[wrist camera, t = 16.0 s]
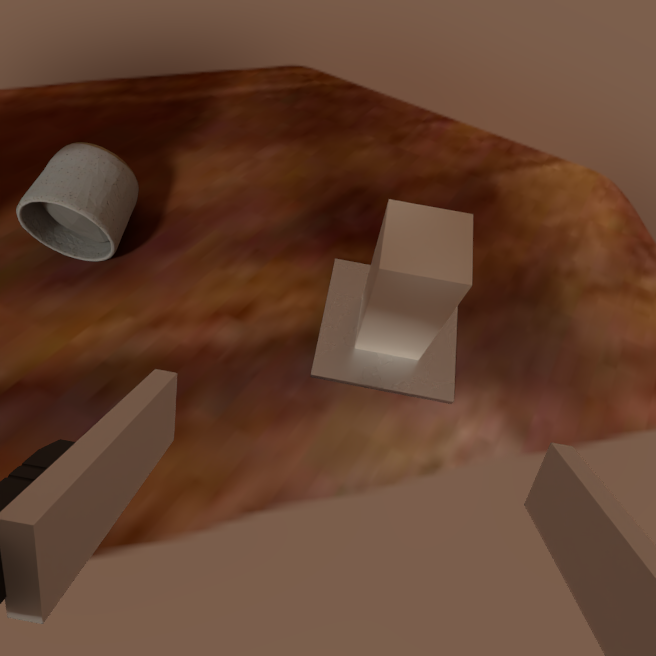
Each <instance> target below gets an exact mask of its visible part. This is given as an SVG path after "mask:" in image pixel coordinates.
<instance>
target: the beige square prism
mask: <svg viewBox="0 0 656 656" xmlns="http://www.w3.org/2000/svg"><path fill="white" fill-rule="evenodd" d="M472 269H473V214H469V213H463V212H458V211H452V210H447V209H441V208H435V207H430V206H424V205H419V204H413V203H407V202H402V201H396V200H390V199H389V201H388V204H387V208H386V212H385V215H384V219H383V222H382V226H381V230H380V233H379V237H378V241H377V244H376V248H375V252H374V255H373V259H372V263H371V266H370V270H369V273H368V277H367V281H366V284H365V288H364V292H363V297H362V303H361V309H360V316H359V322H358V328H357V335H356V341H355V347H354V348H355V349H361V350H366V351H371V352H377V353H382V354H388V355H393V356H398V357H404V358H409V359H415V360H419V359H420V358H421V356H422V355H423V353H424V352H425V351H426V349H427V348H428V346H429V345H430V344H431V342H432V341H433V339H434V338H435V337H436V335H437V334H438V332H439V331H440V330H441V328H442V327H443V326H444V324H445V323H446V321H447V320H448V319H449V317H450V316H451V314H452V313H453V312H454V310H455V309H456V307H457V306H458V305H459V303H460V302H461V300H462V299H463V298H464V296H465V295H466V294H467V292H468V291H469V289H470V288H471V287H472Z"/></svg>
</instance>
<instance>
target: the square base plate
mask: <svg viewBox="0 0 656 656" xmlns="http://www.w3.org/2000/svg"><path fill="white" fill-rule="evenodd" d="M370 266H371V265H368V264H362V263H357V262H351V261H346V260H341V259H335V262H334V267H333V272H332V276H331V281H330V286H329V291H328V295H327V300H326V305H325V310H324V314H323V319H322V324H321V329H320V333H319V338H318V343H317V348H316V352H315V357H314V362H313V367H312V371H311V377H314V378H319V379H324V380H329V381H335V382H340V383H345V384H350V385H355V386H360V387H366V388H371V389H376V390H381V391H386V392H391V393H397V394H402V395H407V396H412V397H417V398H422V399H428V400H433V401H438V402H443V403H448V404H452V403H453V402H454V389H455V364H456V338H457V313H458V306H457V307H456V309H455V310H454V312H453V313H452V314H451V316H450V317H449V319H448V320H447V321H446V323H445V324H444V326H443V327H442V328H441V330H440V331H439V332H438V334H437V335H436V337H435V338H434V339H433V341H432V342H431V344H430V345H429V346H428V348H427V349H426V351H425V352H424V353H423V355H422V356H421V358H420V359H419V360H415V359H409V358H404V357H398V356H393V355H388V354H382V353H377V352H371V351H366V350H361V349H355V348H354V347H355V341H356V335H357V328H358V322H359V316H360V309H361V303H362V297H363V292H364V288H365V284H366V281H367V277H368V273H369V270H370Z"/></svg>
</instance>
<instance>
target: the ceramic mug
mask: <svg viewBox="0 0 656 656" xmlns="http://www.w3.org/2000/svg"><path fill="white" fill-rule="evenodd" d="M138 191H139V186H138V181H137V179H136V177H135V175H134V173H133V171H132V170H131V169H130V167H129V166H128V165H127V164H126V163H125V162H124V161H123V160H122V159H121V158H119V157H118V156H117V155H115V154H114V153H112V152H110V151H109V150H107V149H105V148H103V147H101V146H98V145H95V144H91V143H84V142H77V143H71V144H69V145H66V146H65V147H64V148H62V149H61V150H60V151H58V152H57V153H56V154H55V155H54V156H53V158H52V159H51V160H50V161H49V163H48V164H47V166H46V168H45V169H44V171H43V172H42V173H41V174H40V176H39V177H38V178H37V179H36V181H35V182H34V183H33V185H32V186H31V187H30V188H29V190H28V191H27V192H26V194H25V195H24V196H23V197H22V199H21V200H20V202H19V204H18V206H17V209H16V212H17V217H18V220H19V222H20V224H21V226H22V227H23V228H24V229H25V230H26V231H28V232H29V233H30V234H31V235H32V236H33V237H34V238H36V239H37V240H38V241H39V242H41V243H43V244H44V245H46V246H48V247H50V248H51V249H53V250H55V251H57V252H60V253H62V254H64V255H67V256H69V257H73V258H76V259H81V260H86V261H104V260H107V259H109V258H111V257H112V256H113V255H114V253H115V252H116V250H117V248H118V245H119V242H120V240H121V238H122V235H123V233H124V230H125V228H126V226H127V223H128V221H129V218H130V216H131V214H132V212H133V209H134V207H135V205H136V202H137V198H138Z"/></svg>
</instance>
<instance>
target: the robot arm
mask: <svg viewBox="0 0 656 656" xmlns="http://www.w3.org/2000/svg"><path fill="white" fill-rule="evenodd" d="M176 387H177V373H174V372H168V371H163V370H158V369H155V370H154V371H153V372H152V373H151V374H150V375H148V376H147V377H146V378H145V379H144V380H143V381H142V382H141V383H140V384H139V385H138V386H136V387H135V388H134V389H133V390H132V391H131V392H130V393H129V394H128V395H127V396H126V397H125V398H123V399H122V400H121V401H120V402H119V403H118V404H117V405H116V406H115V407H114V408H113V409H112V410H110V411H109V412H108V413H107V414H106V415H105V416H104V417H103V418H102V419H101V420H100V421H99V422H97V423H96V424H95V425H94V426H93V427H92V428H91V429H90V430H89V431H88V432H87V433H85V434H84V435H83V436H82V437H81V438H80V439H79V440H78V441H77V442H71V441H66V440H58V441H56V442H54V443H52V444H50V445H47V446H45V447H43V448H41V449H39V450H38V451H37V452H35V453H34V454H33V455H32V456H31V457H29V458H28V459H27V460H26V461H25V462H23V463H22V466H19V467H17V468H16V469H15V470H14V471H13V472H11V473H10V474H9V476H8V478H4V479H3V480H2V481H1V482H0V604H1V602H2V601H3V600H4V599H5V602H6V610H7V617H8V618H14V619H19V620H24V621H30V622H35V623H41V624H43V623H44V622H45V620H46V619H47V617H48V616H49V615H50V613H51V612H52V610H53V609H54V607H55V606H56V605H57V603H58V602H59V600H60V599H61V597H62V596H63V595H64V593H65V592H66V591H67V589H68V588H69V586H70V585H71V583H72V582H73V581H74V579H75V578H76V576H77V575H78V574H79V572H80V571H81V569H82V568H83V567H84V565H85V564H86V562H87V561H88V560H89V558H90V557H91V555H92V554H93V553H94V551H95V550H96V548H97V547H98V546H99V544H100V543H101V541H102V540H103V539H104V537H105V536H106V534H107V533H108V531H109V530H110V529H111V527H112V526H113V524H114V523H115V522H116V520H117V519H118V517H119V516H120V515H121V513H122V512H123V510H124V509H125V508H126V506H127V505H128V503H129V502H130V501H131V499H132V498H133V496H134V495H135V493H136V492H137V491H138V489H139V488H140V486H141V485H142V484H143V482H144V481H145V479H146V478H147V477H148V475H149V474H150V472H151V471H152V470H153V468H154V467H155V465H156V464H157V463H158V461H159V460H160V458H161V457H162V455H163V454H164V453H165V451H166V450H167V448H168V447H169V446H170V444H171V443H172V441H173V440H174V424H175V406H176ZM524 505H525V507H526V509H527V511H528V513H529V515H530V516H531V518H532V520H533V522H534V524H535V526H536V528H537V529H538V531H539V533H540V535H541V537H542V539H543V541H544V542H545V544H546V546H547V548H548V550H549V552H550V554H551V555H552V558H553V559H554V561H555V563H556V565H557V567H558V569H559V571H560V572H561V574H562V576H563V578H564V580H565V582H566V583H567V586H568V587H569V589H570V591H571V593H572V595H573V597H574V599H575V600H576V602H577V604H578V606H579V608H580V610H581V611H582V614H583V615H584V617H585V619H586V621H587V623H588V625H589V627H590V628H591V630H592V632H593V634H594V636H595V638H596V639H597V641H598V643H599V645H600V647H601V649H602V651H603V653H604V655H605V656H656V545H655V544H654V542H653V541H652V540H651V539H650V538H649V537H648V535H647V534H646V533H645V532H644V531H643V529H642V528H641V527H640V526H639V525H638V524H637V522H636V521H635V520H634V519H633V517H632V516H631V515H630V514H629V513H628V512H627V510H626V509H625V508H624V507H623V506H622V504H621V503H620V502H619V501H618V500H617V498H616V497H615V496H614V495H613V494H612V493H611V492H610V490H609V489H608V488H607V487H606V485H605V484H604V483H603V482H602V481H601V479H600V478H599V477H598V476H597V475H596V474H595V473H594V471H593V470H592V469H591V468H590V466H589V465H588V464H587V463H586V462H585V461H584V459H583V458H582V457H581V456H580V455H579V453H578V452H577V451H576V450H575V449H574V447H573V446H567V445H562V444H556V443H551V444H550V446H549V448H548V451H547V453H546V455H545V457H544V460H543V462H542V465H541V467H540V469H539V472H538V474H537V476H536V478H535V481H534V483H533V486H532V488H531V490H530V493H529V495H528V497H527V499H526V502H525V504H524Z"/></svg>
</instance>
